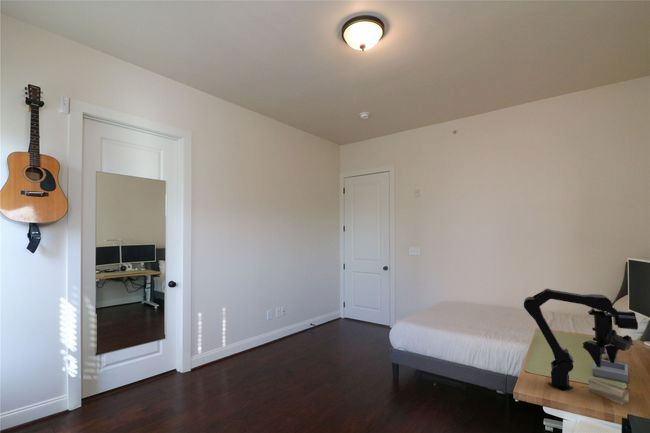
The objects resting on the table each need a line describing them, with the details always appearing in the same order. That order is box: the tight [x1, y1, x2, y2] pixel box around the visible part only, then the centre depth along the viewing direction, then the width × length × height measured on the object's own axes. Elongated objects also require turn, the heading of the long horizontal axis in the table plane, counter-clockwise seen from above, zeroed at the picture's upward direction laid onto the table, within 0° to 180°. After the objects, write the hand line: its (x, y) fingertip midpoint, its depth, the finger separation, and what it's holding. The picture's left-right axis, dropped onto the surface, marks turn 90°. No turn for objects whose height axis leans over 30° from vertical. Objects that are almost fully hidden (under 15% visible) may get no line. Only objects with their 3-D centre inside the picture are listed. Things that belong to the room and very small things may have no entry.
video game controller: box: [603, 348, 622, 363], centre depth 169 cm, size 10×5×7 cm, turn 149°
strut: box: [588, 377, 630, 406], centre depth 135 cm, size 4×12×5 cm, turn 17°
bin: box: [592, 359, 629, 384], centre depth 155 cm, size 15×12×4 cm
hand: (605, 364), depth 136 cm, fingers open, 9 cm apart
